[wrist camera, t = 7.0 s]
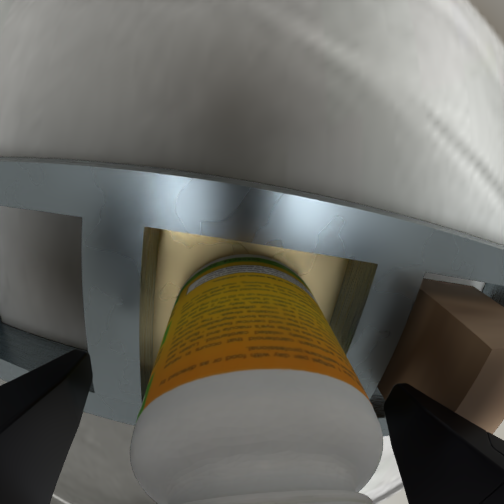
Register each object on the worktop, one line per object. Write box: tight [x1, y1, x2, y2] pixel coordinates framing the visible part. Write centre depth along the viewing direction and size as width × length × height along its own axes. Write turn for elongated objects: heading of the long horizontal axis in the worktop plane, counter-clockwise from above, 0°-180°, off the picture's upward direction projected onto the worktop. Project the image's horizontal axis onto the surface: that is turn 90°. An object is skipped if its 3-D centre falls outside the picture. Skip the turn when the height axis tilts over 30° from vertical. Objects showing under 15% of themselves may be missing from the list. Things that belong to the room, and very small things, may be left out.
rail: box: [0, 157, 504, 436], centre depth 11 cm, size 10×28×2 cm, turn 79°
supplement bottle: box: [130, 254, 383, 504], centre depth 7 cm, size 5×5×10 cm
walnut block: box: [377, 279, 504, 434], centre depth 10 cm, size 5×5×6 cm
